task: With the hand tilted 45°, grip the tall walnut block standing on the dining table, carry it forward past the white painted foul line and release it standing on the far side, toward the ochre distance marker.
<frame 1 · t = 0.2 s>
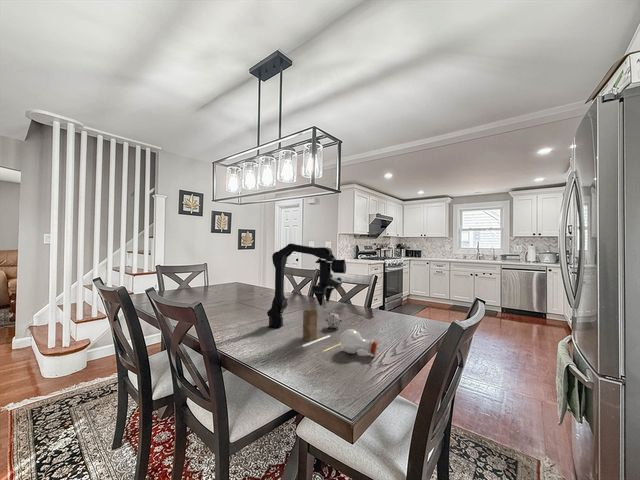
hand: (324, 303, 135), 14 cm above the table, tool pointing down, fingers open, 9 cm apart
game die: (333, 328, 141), on the table
distance marker: (334, 346, 116), on the table
walnut block: (309, 338, 126), on the table
foul line: (317, 340, 123), on the table
potion bottle: (358, 354, 109), on the table
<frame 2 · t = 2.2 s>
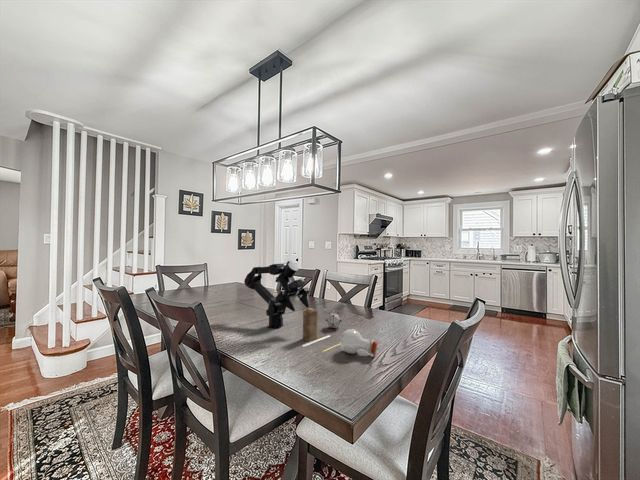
hand: (301, 309, 130), 13 cm above the table, tool tilted 45°, fingers open, 9 cm apart
nothing on the table moved.
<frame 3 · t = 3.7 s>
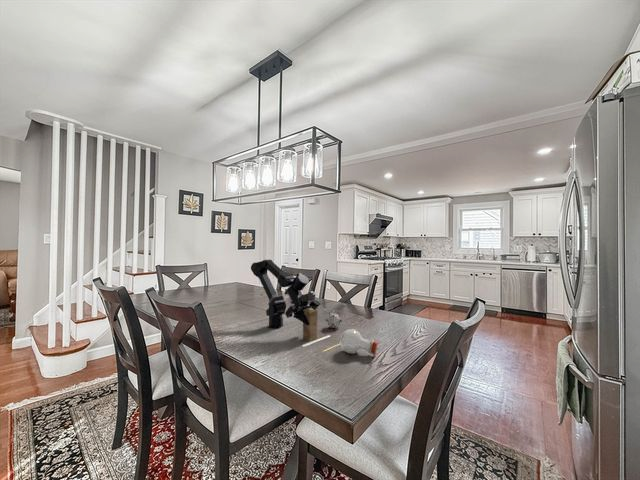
hand: (312, 323, 125), 7 cm above the table, tool tilted 45°, fingers closed on walnut block, 5 cm apart
walnut block: (309, 338, 126), on the table, touching gripper
everything else where it was.
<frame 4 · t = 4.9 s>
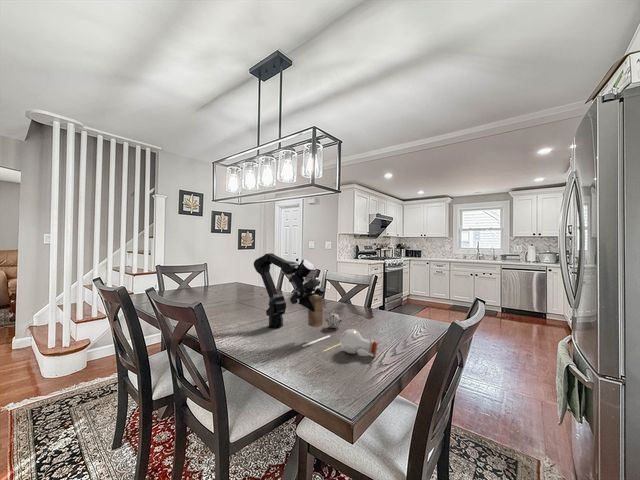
hand: (317, 310, 123), 14 cm above the table, tool tilted 45°, fingers closed on walnut block, 5 cm apart
walnut block: (315, 325, 124), point 7 cm above the table, touching gripper
everything else where it was.
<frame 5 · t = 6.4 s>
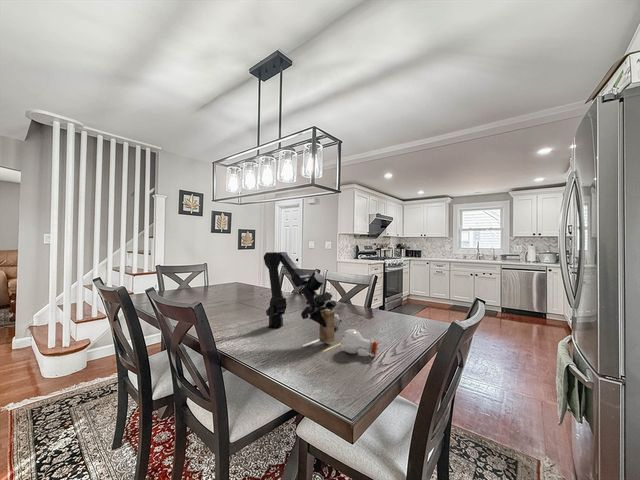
hand: (329, 325, 118), 8 cm above the table, tool tilted 45°, fingers closed on walnut block, 4 cm apart
walnut block: (326, 340, 119), point 1 cm above the table, touching gripper
everything else where it was.
when the fingers open (8 cm above the table, at t = 6.7 s): walnut block drops 1 cm, on the table.
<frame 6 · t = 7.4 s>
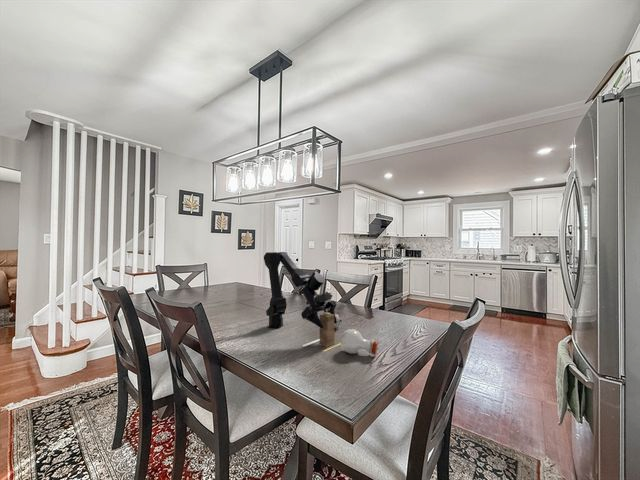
hand: (329, 325, 118), 9 cm above the table, tool tilted 45°, fingers open, 9 cm apart
walnut block: (326, 344, 119), on the table
everything else where it was.
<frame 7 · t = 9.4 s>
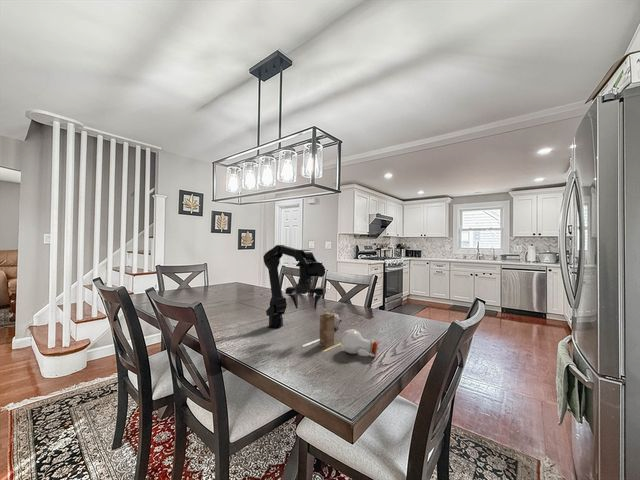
hand: (305, 308, 128), 13 cm above the table, tool pointing down, fingers open, 9 cm apart
nothing on the table moved.
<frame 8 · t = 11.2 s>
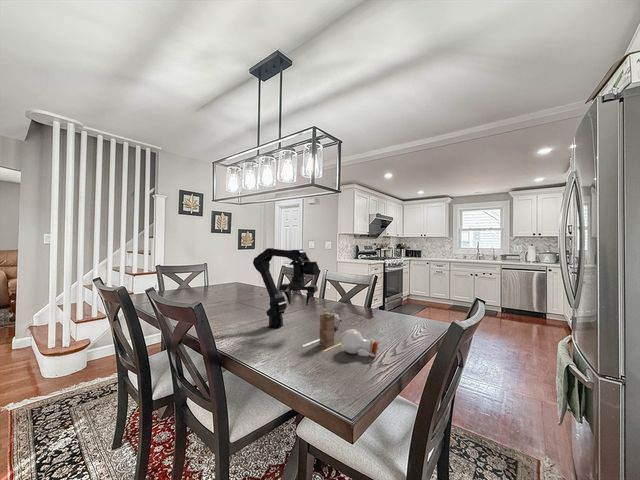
hand: (298, 305, 136), 13 cm above the table, tool pointing down, fingers open, 9 cm apart
nothing on the table moved.
at the end: walnut block inside the target area (3.1 cm from its centre), on the table; walnut block tilted 0°; walnut block moved 10.5 cm from its start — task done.
